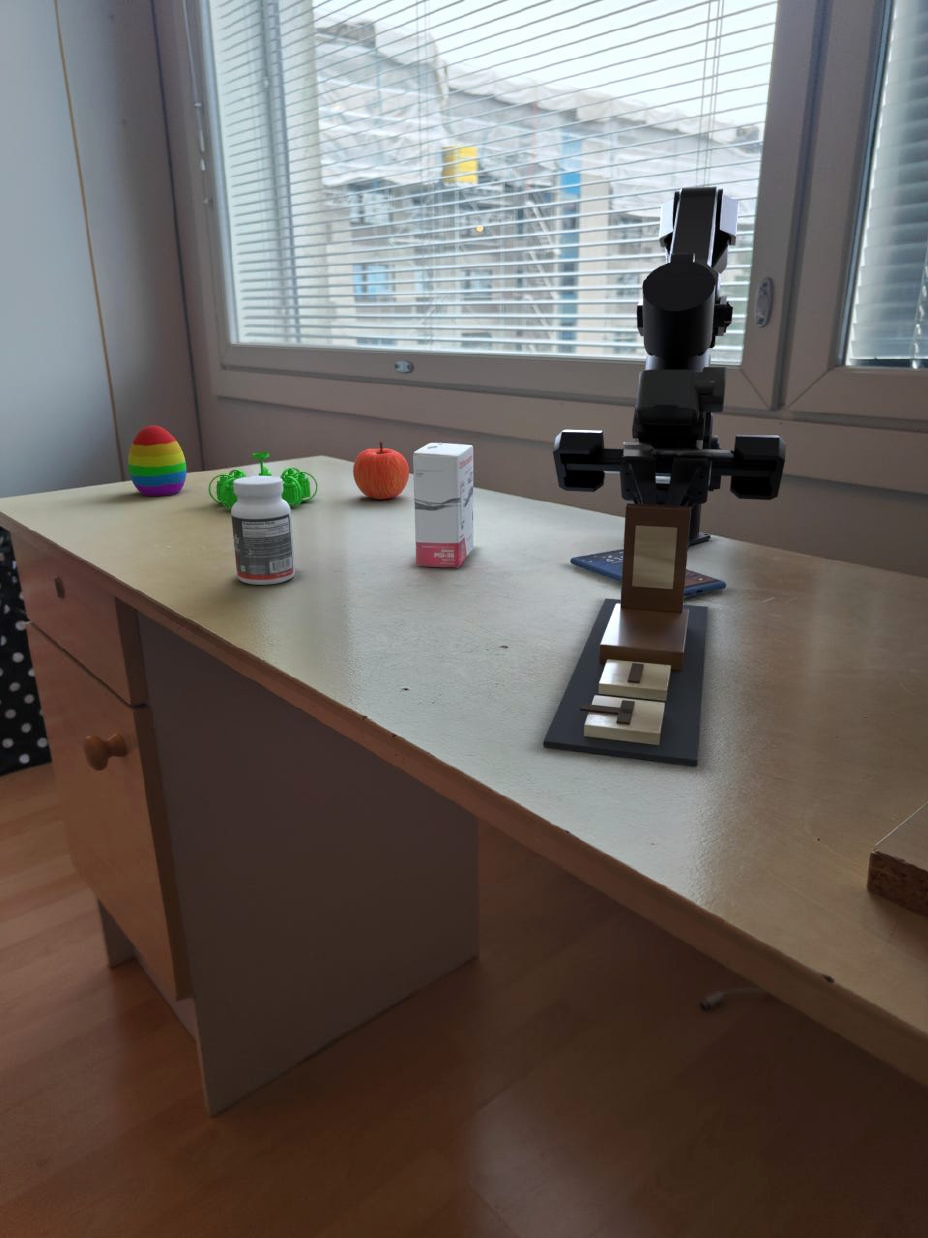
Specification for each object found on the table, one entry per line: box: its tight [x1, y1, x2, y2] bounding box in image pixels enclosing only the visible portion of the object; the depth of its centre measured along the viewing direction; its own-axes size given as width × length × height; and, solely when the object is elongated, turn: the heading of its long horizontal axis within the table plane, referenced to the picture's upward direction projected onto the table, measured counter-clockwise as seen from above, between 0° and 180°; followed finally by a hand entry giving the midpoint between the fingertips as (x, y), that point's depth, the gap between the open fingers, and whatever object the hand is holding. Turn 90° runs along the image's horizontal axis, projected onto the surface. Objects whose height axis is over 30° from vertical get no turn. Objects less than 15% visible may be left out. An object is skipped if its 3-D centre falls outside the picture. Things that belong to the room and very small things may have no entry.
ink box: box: [412, 442, 474, 568], centre depth 91 cm, size 9×5×12 cm, turn 168°
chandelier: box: [208, 452, 318, 510], centre depth 121 cm, size 15×15×7 cm
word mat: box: [542, 598, 709, 767], centre depth 64 cm, size 29×9×1 cm, turn 164°
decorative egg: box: [127, 424, 187, 497], centre depth 128 cm, size 8×8×10 cm
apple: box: [352, 441, 410, 500], centre depth 124 cm, size 8×8×8 cm
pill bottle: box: [230, 475, 296, 586], centre depth 85 cm, size 6×6×10 cm
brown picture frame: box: [599, 502, 691, 671], centre depth 65 cm, size 10×6×10 cm, turn 164°
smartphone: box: [570, 548, 727, 598], centre depth 85 cm, size 8×1×15 cm
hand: (656, 548), depth 70 cm, fingers closed, pressing on brown picture frame
